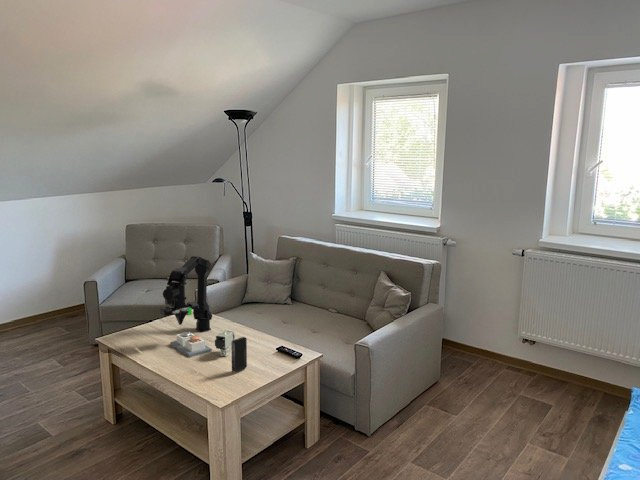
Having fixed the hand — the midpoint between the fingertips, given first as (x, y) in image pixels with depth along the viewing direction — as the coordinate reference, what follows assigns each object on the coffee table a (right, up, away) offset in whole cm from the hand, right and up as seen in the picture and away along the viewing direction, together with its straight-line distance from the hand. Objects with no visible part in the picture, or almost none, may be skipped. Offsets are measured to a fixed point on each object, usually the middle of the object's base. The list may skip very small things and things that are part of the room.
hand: (180, 324), depth 252 cm
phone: (+35, -17, -26) cm, 46 cm away
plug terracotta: (+9, -10, -4) cm, 14 cm away
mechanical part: (-7, -4, +55) cm, 56 cm away
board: (+5, -12, 0) cm, 13 cm away
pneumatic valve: (+24, -14, -9) cm, 29 cm away
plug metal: (+2, -10, +3) cm, 11 cm away
